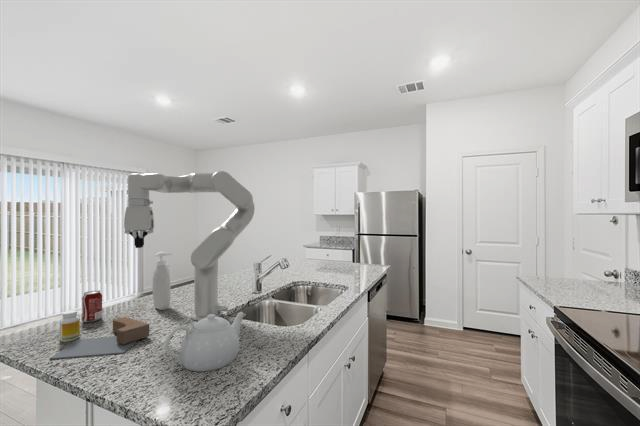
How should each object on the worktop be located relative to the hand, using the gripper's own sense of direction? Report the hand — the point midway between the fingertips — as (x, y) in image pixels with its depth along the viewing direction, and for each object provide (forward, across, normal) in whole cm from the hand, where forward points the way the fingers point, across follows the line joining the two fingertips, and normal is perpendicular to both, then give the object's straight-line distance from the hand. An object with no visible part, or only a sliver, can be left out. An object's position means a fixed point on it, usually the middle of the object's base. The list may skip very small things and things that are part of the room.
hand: (139, 247), depth 121 cm
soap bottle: (+31, -3, -18) cm, 36 cm away
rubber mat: (+31, +4, +22) cm, 38 cm away
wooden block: (+28, -8, +21) cm, 36 cm away
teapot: (+31, -35, +38) cm, 60 cm away
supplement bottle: (+31, +18, +13) cm, 38 cm away
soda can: (+31, +21, -6) cm, 38 cm away
